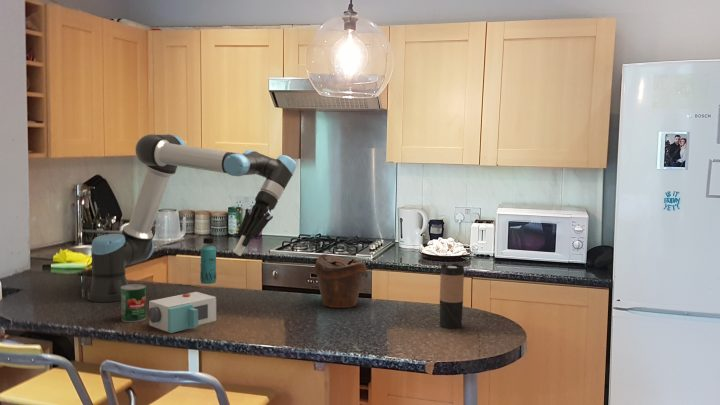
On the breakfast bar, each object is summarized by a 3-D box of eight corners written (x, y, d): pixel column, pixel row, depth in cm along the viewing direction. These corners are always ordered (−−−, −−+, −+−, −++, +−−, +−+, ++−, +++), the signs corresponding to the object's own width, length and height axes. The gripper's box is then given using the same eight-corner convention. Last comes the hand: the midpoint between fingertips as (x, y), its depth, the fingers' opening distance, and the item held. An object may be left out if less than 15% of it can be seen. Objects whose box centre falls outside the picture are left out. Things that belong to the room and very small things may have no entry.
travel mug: (456, 330, 208) (458, 269, 206) (435, 326, 212) (436, 266, 210) (465, 324, 215) (467, 265, 213) (444, 320, 219) (446, 262, 217)
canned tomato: (135, 323, 210) (134, 290, 209) (116, 320, 213) (115, 287, 212) (151, 317, 217) (150, 285, 216) (132, 314, 220) (131, 283, 219)
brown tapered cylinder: (369, 309, 231) (369, 260, 230) (313, 310, 230) (313, 260, 228) (365, 298, 249) (366, 252, 247) (313, 299, 247) (313, 252, 246)
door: (167, 332, 200) (167, 308, 199) (189, 326, 206) (189, 303, 205) (176, 335, 197) (175, 311, 196) (198, 329, 203) (198, 306, 202)
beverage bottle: (197, 286, 263) (196, 238, 261) (206, 283, 269) (206, 236, 268) (210, 288, 261) (210, 239, 259) (219, 285, 267) (219, 237, 265)
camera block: (145, 326, 207) (144, 300, 206) (196, 314, 222) (196, 290, 221) (164, 333, 199) (164, 306, 199) (216, 320, 214) (216, 295, 213)
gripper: (287, 203, 226) (255, 262, 218) (264, 199, 235) (232, 255, 227) (274, 191, 221) (241, 251, 213) (250, 188, 230) (218, 245, 222)
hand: (236, 253), depth 220 cm, fingers closed
